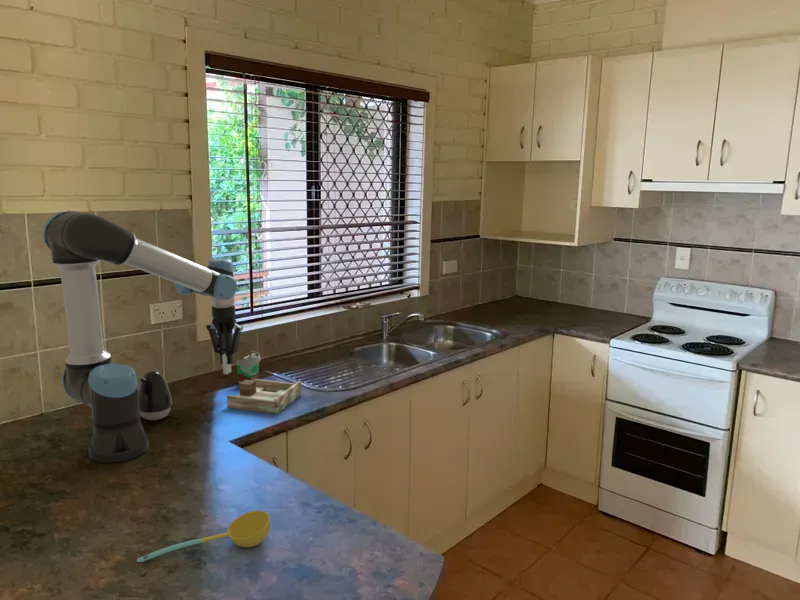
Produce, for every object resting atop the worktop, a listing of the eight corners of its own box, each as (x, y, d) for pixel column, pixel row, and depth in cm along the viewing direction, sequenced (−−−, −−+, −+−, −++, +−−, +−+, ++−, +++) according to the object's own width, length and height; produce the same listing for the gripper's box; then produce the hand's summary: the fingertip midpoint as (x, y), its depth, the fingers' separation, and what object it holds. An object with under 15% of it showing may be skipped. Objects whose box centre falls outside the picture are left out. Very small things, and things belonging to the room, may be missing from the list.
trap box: (277, 414, 197) (276, 399, 196) (227, 407, 202) (226, 393, 201) (301, 395, 214) (301, 381, 213) (254, 389, 219) (254, 376, 218)
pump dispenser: (130, 422, 190) (126, 374, 187) (151, 409, 200) (147, 364, 197) (159, 425, 188) (156, 377, 184) (179, 412, 197) (176, 367, 194)
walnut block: (250, 396, 207) (249, 384, 206) (239, 394, 208) (239, 383, 207) (256, 392, 211) (255, 380, 210) (245, 390, 212) (245, 379, 211)
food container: (252, 388, 221) (251, 361, 219) (236, 386, 222) (235, 360, 220) (266, 377, 232) (266, 351, 230) (251, 375, 234) (250, 350, 232)
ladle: (277, 546, 127) (270, 523, 125) (144, 597, 120) (134, 573, 119) (272, 522, 135) (265, 500, 133) (147, 568, 128) (138, 545, 127)
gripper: (246, 304, 207) (250, 371, 213) (212, 301, 211) (216, 367, 216) (234, 309, 200) (238, 378, 205) (199, 306, 204) (204, 374, 209)
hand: (227, 372), depth 211 cm, fingers closed
